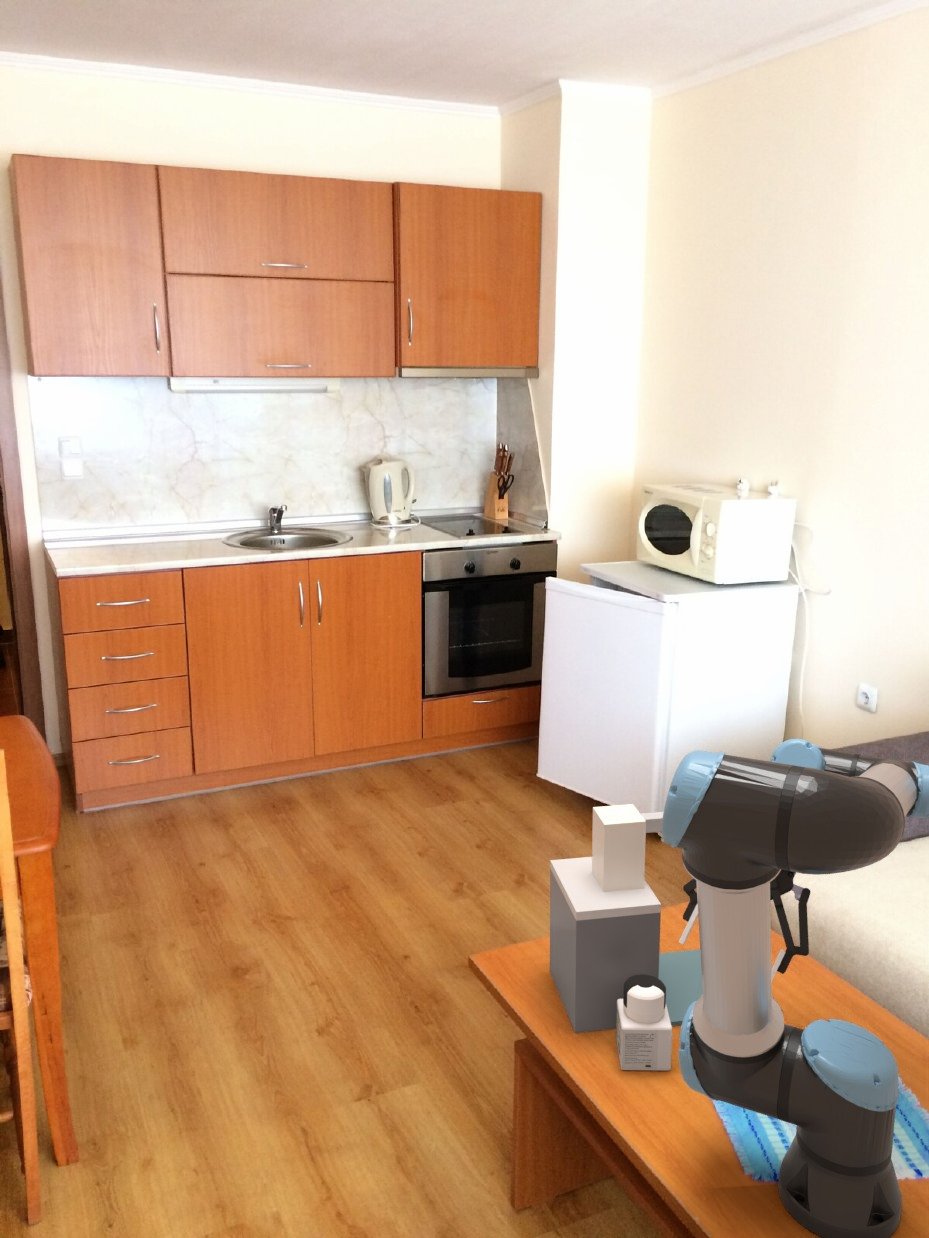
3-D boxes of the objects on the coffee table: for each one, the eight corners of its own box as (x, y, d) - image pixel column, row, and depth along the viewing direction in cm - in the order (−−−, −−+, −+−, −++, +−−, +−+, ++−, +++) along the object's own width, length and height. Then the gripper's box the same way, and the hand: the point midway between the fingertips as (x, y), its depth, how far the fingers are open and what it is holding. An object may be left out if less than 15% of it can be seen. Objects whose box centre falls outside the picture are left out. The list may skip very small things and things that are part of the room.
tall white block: (692, 862, 181) (694, 798, 178) (707, 882, 174) (710, 815, 171) (591, 871, 178) (592, 807, 175) (603, 891, 171) (604, 824, 168)
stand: (624, 963, 190) (627, 853, 184) (657, 1023, 172) (661, 904, 167) (549, 971, 188) (550, 860, 182) (575, 1032, 170) (576, 912, 165)
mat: (734, 949, 194) (734, 945, 194) (781, 1013, 175) (782, 1009, 174) (630, 959, 191) (630, 956, 191) (667, 1026, 172) (667, 1022, 172)
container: (615, 1039, 169) (617, 968, 166) (663, 1039, 168) (666, 968, 165) (620, 1070, 161) (622, 997, 158) (671, 1071, 161) (673, 997, 158)
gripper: (859, 881, 159) (800, 1008, 157) (709, 805, 169) (650, 924, 166) (863, 878, 152) (801, 1012, 150) (706, 800, 162) (645, 924, 159)
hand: (722, 966), depth 158 cm, fingers open, 13 cm apart
